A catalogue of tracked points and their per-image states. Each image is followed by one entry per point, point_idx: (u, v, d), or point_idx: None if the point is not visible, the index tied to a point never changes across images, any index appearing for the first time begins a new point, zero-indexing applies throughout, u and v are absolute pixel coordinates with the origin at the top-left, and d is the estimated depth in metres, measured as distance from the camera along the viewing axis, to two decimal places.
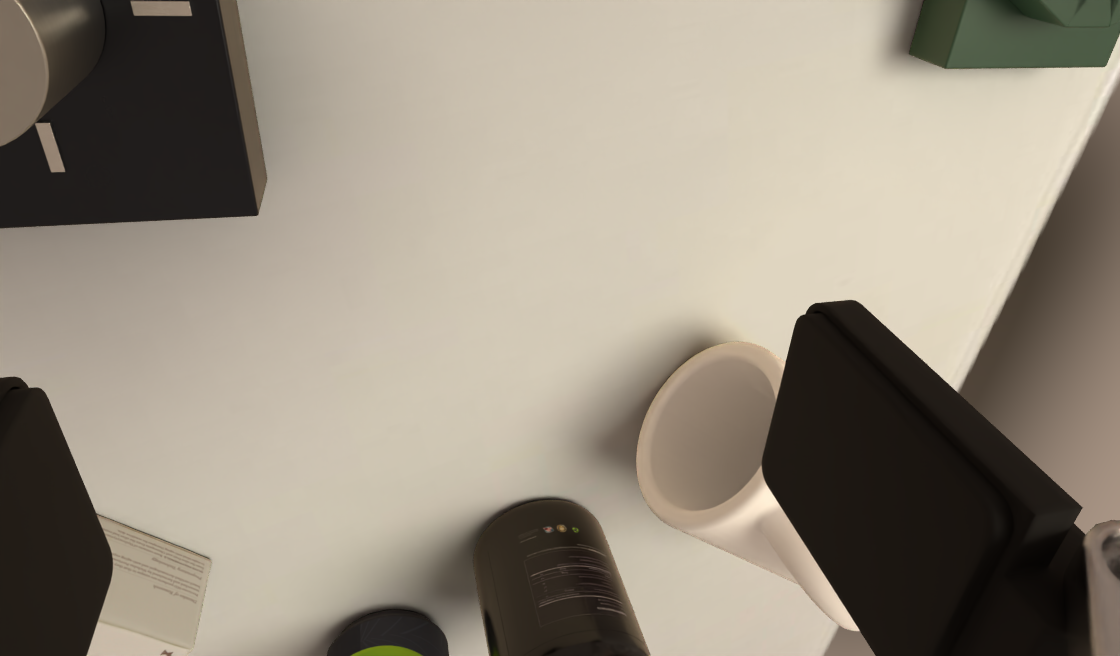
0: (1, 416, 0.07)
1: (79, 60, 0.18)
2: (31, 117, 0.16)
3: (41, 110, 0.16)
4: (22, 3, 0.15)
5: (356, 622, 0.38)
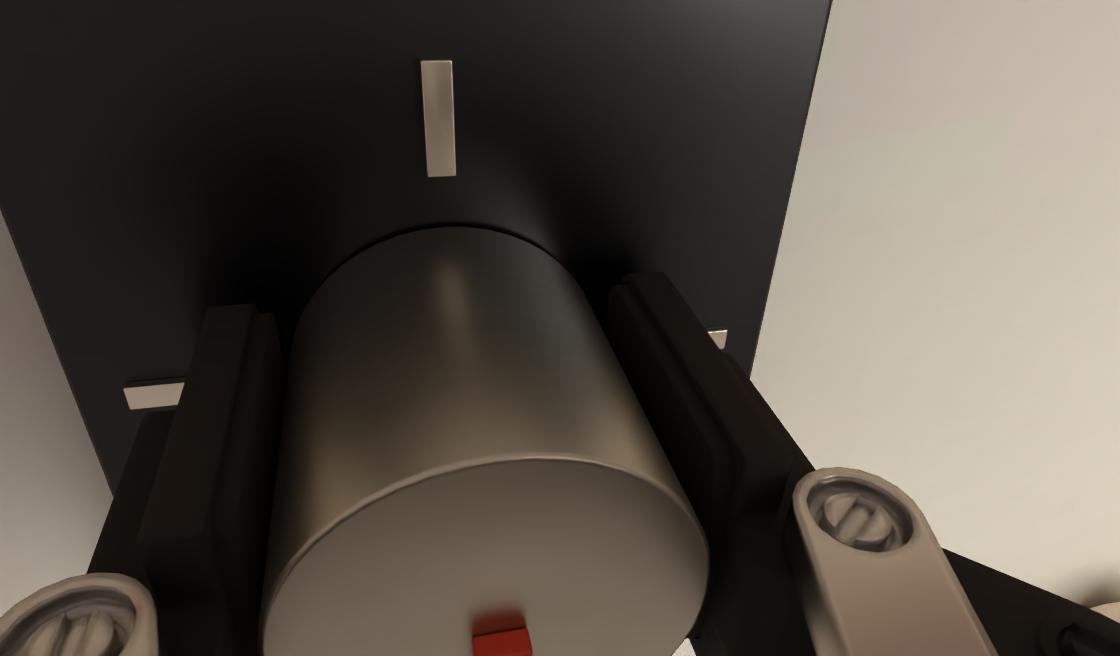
0: (255, 332, 0.09)
1: None
2: None
3: None
4: (702, 528, 0.07)
5: None
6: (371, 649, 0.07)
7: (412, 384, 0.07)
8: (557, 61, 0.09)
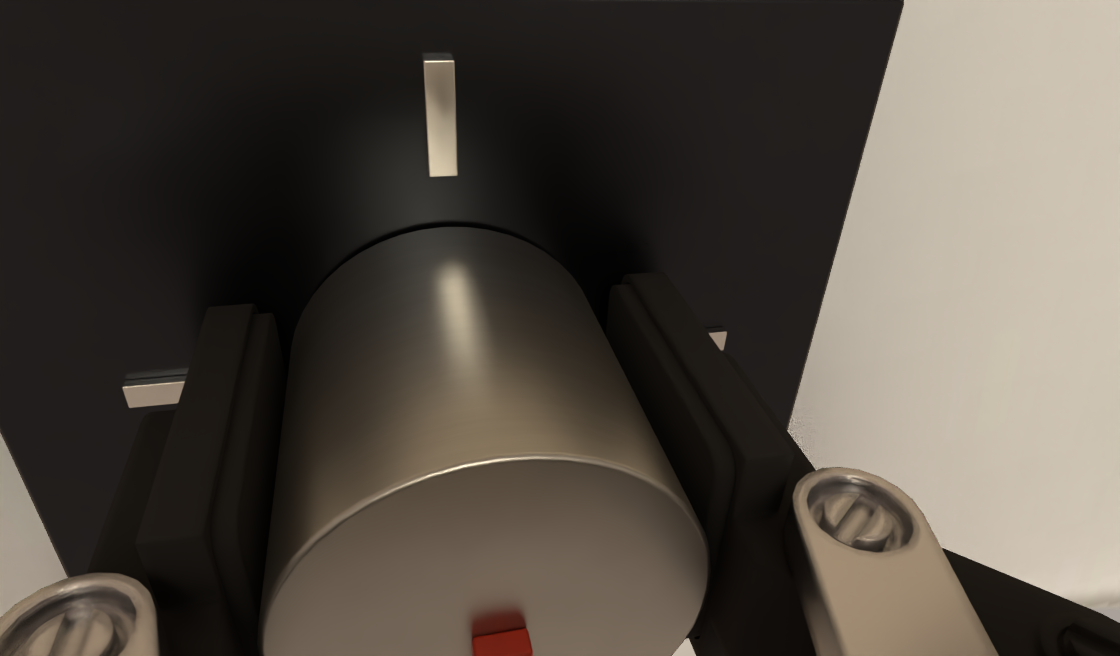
0: (255, 333, 0.09)
1: None
2: None
3: None
4: (702, 528, 0.07)
5: None
6: (371, 649, 0.07)
7: (411, 384, 0.07)
8: (103, 297, 0.09)
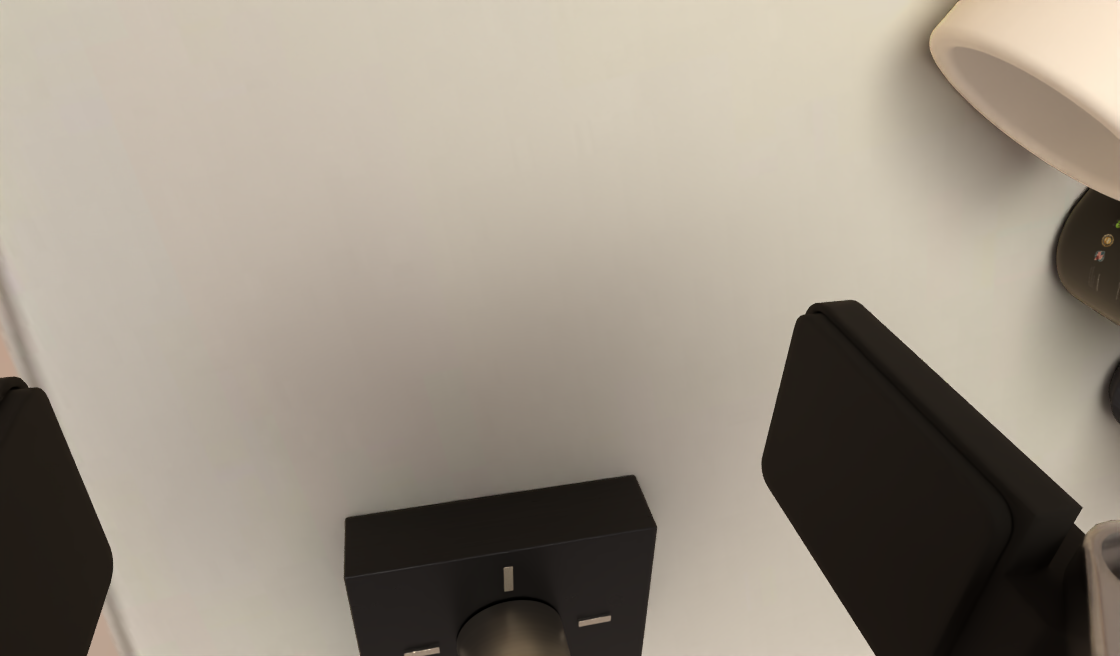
0: (1, 416, 0.07)
1: None
2: None
3: None
4: None
5: (1110, 399, 0.36)
6: None
7: None
8: (402, 630, 0.29)
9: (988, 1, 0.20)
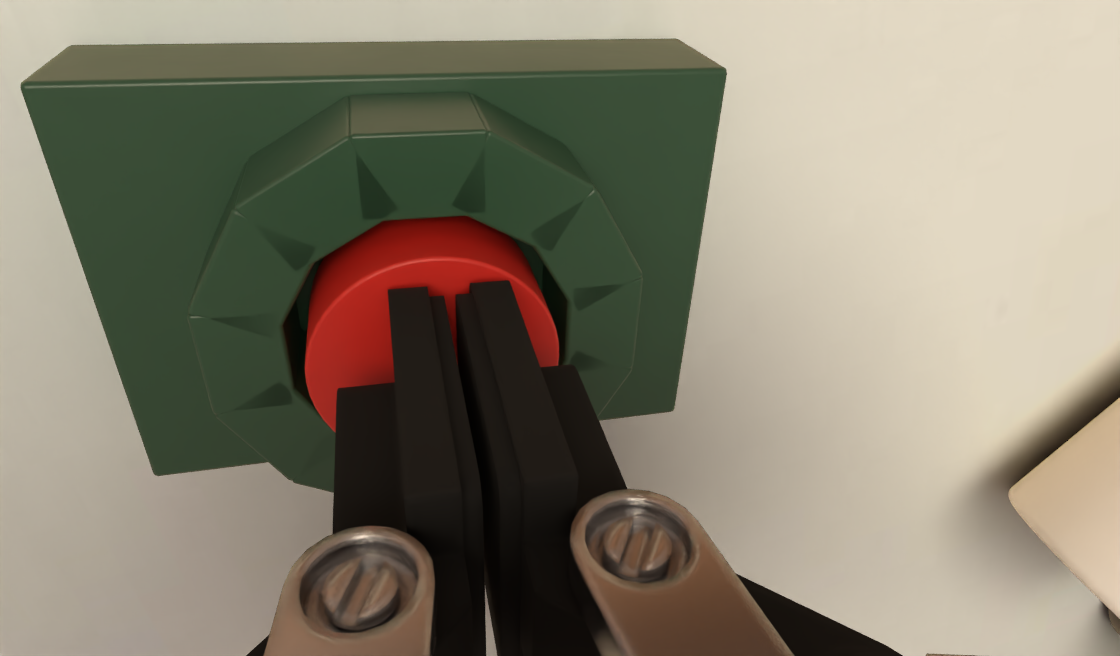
0: (436, 313, 0.09)
1: None
2: None
3: None
4: None
5: None
6: None
7: None
8: None
9: (1087, 529, 0.19)
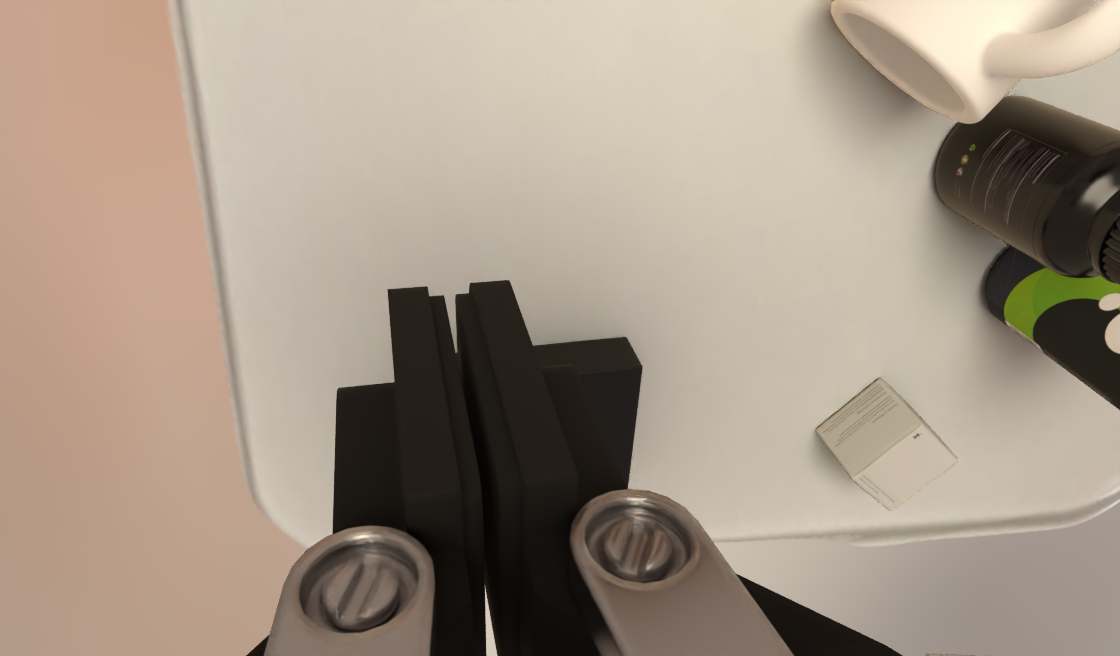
0: (436, 313, 0.09)
1: None
2: None
3: None
4: None
5: None
6: None
7: None
8: None
9: None
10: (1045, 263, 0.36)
